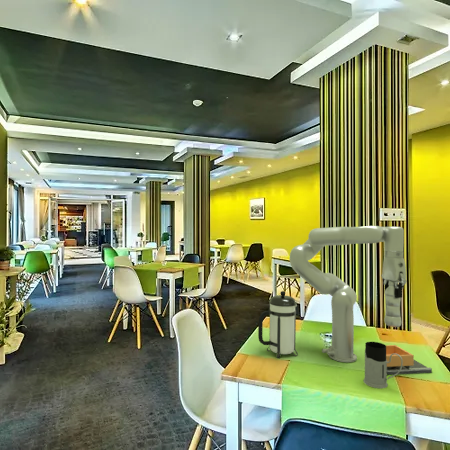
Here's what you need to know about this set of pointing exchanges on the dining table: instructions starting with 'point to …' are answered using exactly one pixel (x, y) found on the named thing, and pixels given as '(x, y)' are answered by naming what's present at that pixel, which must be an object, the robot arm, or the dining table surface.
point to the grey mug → (377, 365)
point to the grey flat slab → (410, 369)
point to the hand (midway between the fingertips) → (393, 295)
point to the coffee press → (280, 325)
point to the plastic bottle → (392, 306)
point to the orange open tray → (395, 359)
